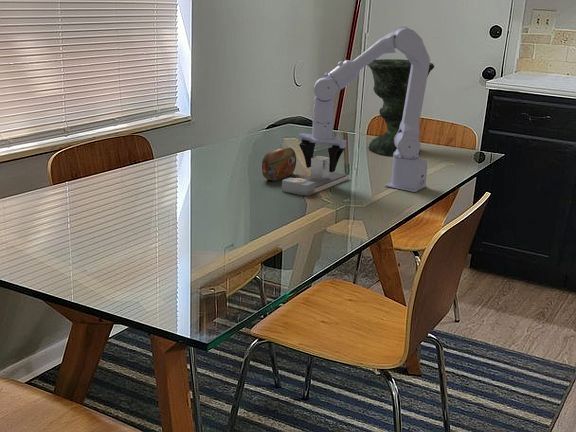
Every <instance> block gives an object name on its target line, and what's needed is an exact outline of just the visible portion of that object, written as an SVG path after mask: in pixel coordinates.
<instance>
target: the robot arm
mask: <svg viewBox="0 0 576 432" xmlns="http://www.w3.org/2000/svg"><path fill="white" fill-rule="evenodd" d="M396 50H398V51H399V52H400V53H402V54H404V57H406V60H409V61H410V63H411V69H410V75H409V81H408V87H407V93H406V99H405V105H404V111H403V117H402V121H401V124H400V127H399V131H398V132H397V134H396V135H395V137H394V144H395V146H396V148H397V149H396V151H395V152H394V153H393V156H392V165H391V166H392V167H391V178H390V179H391V180H390V182H388V183H385V185H384V186H385V187H388V188H393V189H398V190H403V191H408V192H414V193H416V192H419V191H420V190H423V189H425V188H426V187H427V186H428V185H427V175H428V174H427V173H428V162H427V160H426V159H424V158H421V157H420V154H419V153H420V152H421V151H420V150H421V146H422V145H421V142H420V122H421V116H422V112H423V111H422V109H423V104H424V98H425V92H426V87H427V81H428V80H427V79H428V77H427V76H429V75H428V70H429V65H430V63H431V58H430V55H429V53H428V51H427V48H426V46H425V44H424V40H423V38H422V37H421V36H420V35H419V34H418V32H416V31H415V30H413V29H411V28H409V27H407V26H400V27H397V28H396V29H394V30H393V31H392V32H391V31H390V32H389V33H387V34H385V35H384V36H382V37H381V38H379V39H378V40H377V41H375V43H374V44H372V45H370V46H369V48H368V47H367V49H366V50H365V51H363V52H362V53H361V54H359V56H357V57H356V58H354V60H349V59H346V60H344V61H342V60H340V61H338V63H337V66H336V67H335V68H333V69H332V70H331V71H329V72H325V73H324V74H323V76H324V77H320V78H319V79H318V78H317V80H316V81H315V83H314V86H313V88H312V89H313V92H314V98H313V102H314V103H313V106H312V108H313V109H312V132H311V134H310V133H304V132H303V133H302V132H301V133H299V134H298V142H301V143H299V144H298V146H299V148H300V150H301V152H302V154H303V157H304V160H305V161H304V162H305V166H306V169H309V168H311V158H313V157H314V153H315V152H314V151H315V146H316V144H319V145H325V146H328V148H327V151H328V157H329V159H330V163H329V172H336V169H337V167H338V166H337V165H338V162H339V160H340V158H341V156H342V153H343V152H344V151H345V149H346V148H347V140H345V139H341V138H338V137H333V133H334V131H333V130H334V115H335V113H334V111H335V106H334V98H335V96H336V94H337V92H339V91H340V92H341V90H343V89H344V88H346V87H347V86H348V85H350V84H351V83H352V82H354V81H355V80H356V79H358V78H359V74H360V70H362V69H363V68H365V67H367V66H368V64H369V63H371V62H372V61H374V60H378V59H379V57H381V56H382V55H384V54H395V53H396V52H397V51H396ZM329 146H330V147H329ZM419 151H420V152H419Z"/></svg>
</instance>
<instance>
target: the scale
mask: <svg viewBox="0 0 576 432" xmlns="http://www.w3.org/2000/svg"><path fill="white" fill-rule="evenodd" d="M310 177H311V175H309V176H306V177H304V178H301V177H296V178H295V177H286V178H284V179H282V180H281V181H282V182H281V191H282V192H285V193H290V194H293V195H294V194H295V195H299V196H303V195H306V196H305V197H308V196H311V195H314V194H315V193H318V192H320V191H323V190H326V189H328V188H331V187H333V186H336V185H338V184H340V183H342V182H345V181H349V179H350V175H348V174H345V173H341V172H336V171H334V172H330V178H329V179H327V180H324V181H320V180H315V179H310ZM307 195H308V196H307Z"/></svg>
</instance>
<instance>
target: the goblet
mask: <svg viewBox="0 0 576 432" xmlns="http://www.w3.org/2000/svg"><path fill="white" fill-rule="evenodd" d="M367 66H368V67H369V68H370V71H371V72H372V77H373V78H372V79H373V84H374V86H373V91H374V94H375V95H377V96H378V97H379V98H381V99H382V102H383V104H382V106H381V107H380V109H379V116H380V117H381V118H382V119H383V120H384V122H385V123H386V131H385V132H384V133H383V134H382V135H379V136H377V137H375V138H374V139H372V140H371V141H370V143H369V144H368V146H367V147H368V150H369V151H371V152H373V153H376V154H378V155H382V156H388V157H393V153H394V152H395V151H396V149H397V148H396V146H395V144H394V137H395V135H396V134H397V132H398V131H399V127H400V124H401V121H402V117H403V111H404V105H405V99H406V93H407V87H408V81H409V75H410V69H411V63H410V61H409V60H408V59H398V58H397V59H396V58H393V59H392V58H391V59H389V58H388V59H387V58H386V59H384V58H383V59H375V60H374V61H372V62H371V63H369V64H368V65H367ZM434 68H435V64H434V63H432V62H430V65H429V70H428V76H429V75H430V73H431V71H432V70H434ZM428 76H427V78H428ZM420 152H421V149H420V151H419V153H420Z"/></svg>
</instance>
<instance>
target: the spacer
mask: <svg viewBox="0 0 576 432" xmlns="http://www.w3.org/2000/svg"><path fill="white" fill-rule="evenodd" d="M329 163H330V159H329V156H323V155H322V156H321V155H317V156H313V158H311V167H310V176H311V177H310V179H315V180H320V181H324V180H327V179H329V178H330V172H329Z"/></svg>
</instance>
